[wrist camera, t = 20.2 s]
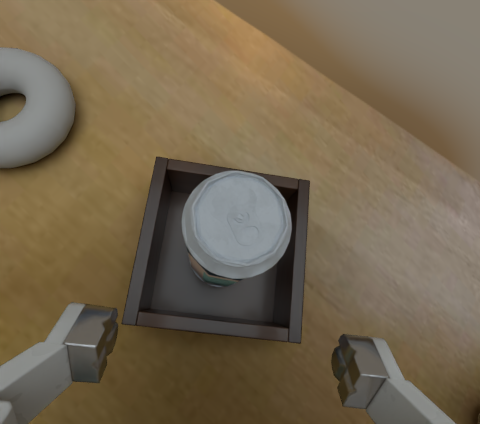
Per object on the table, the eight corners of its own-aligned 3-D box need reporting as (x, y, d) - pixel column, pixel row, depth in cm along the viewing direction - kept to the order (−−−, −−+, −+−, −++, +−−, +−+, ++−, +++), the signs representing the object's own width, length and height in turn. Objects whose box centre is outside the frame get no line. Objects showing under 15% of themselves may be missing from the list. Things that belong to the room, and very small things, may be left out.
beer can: (235, 215, 25) (266, 145, 13) (262, 270, 24) (319, 245, 13) (179, 240, 24) (161, 186, 12) (205, 298, 23) (210, 299, 11)
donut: (-25, 59, 27) (-72, 165, 24) (-57, 25, 23) (-116, 142, 20) (95, 80, 28) (64, 184, 25) (80, 50, 24) (43, 165, 21)
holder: (289, 202, 27) (310, 180, 22) (279, 333, 24) (301, 343, 19) (164, 183, 26) (156, 156, 21) (138, 318, 23) (121, 324, 18)
